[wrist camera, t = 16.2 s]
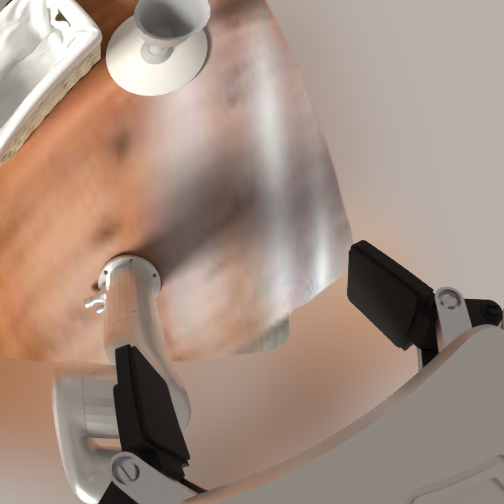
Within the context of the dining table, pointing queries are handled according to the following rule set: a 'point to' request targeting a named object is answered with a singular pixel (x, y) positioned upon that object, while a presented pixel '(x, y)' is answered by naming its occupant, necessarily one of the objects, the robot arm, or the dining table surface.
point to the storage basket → (40, 63)
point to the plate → (148, 75)
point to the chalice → (168, 25)
